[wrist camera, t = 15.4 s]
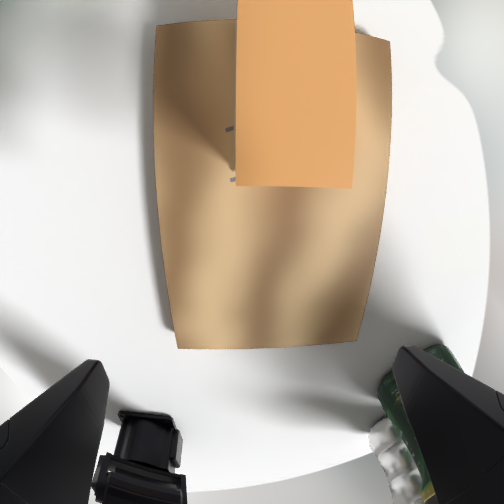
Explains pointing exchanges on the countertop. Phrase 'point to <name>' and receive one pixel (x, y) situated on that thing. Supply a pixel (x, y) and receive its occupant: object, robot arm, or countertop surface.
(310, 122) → the block
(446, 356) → the coffee jar
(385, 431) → the plastic bottle
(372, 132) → the oak board
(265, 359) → the countertop surface
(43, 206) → the countertop surface
